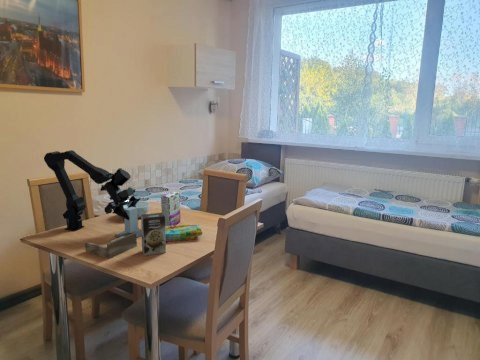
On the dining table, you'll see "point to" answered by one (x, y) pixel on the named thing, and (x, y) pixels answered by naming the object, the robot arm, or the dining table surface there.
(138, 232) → the rubber mat
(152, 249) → the coffee box
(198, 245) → the dining table surface
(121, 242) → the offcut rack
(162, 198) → the candy bar box
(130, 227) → the tall block
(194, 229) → the puzzle game
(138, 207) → the cereal bowl
